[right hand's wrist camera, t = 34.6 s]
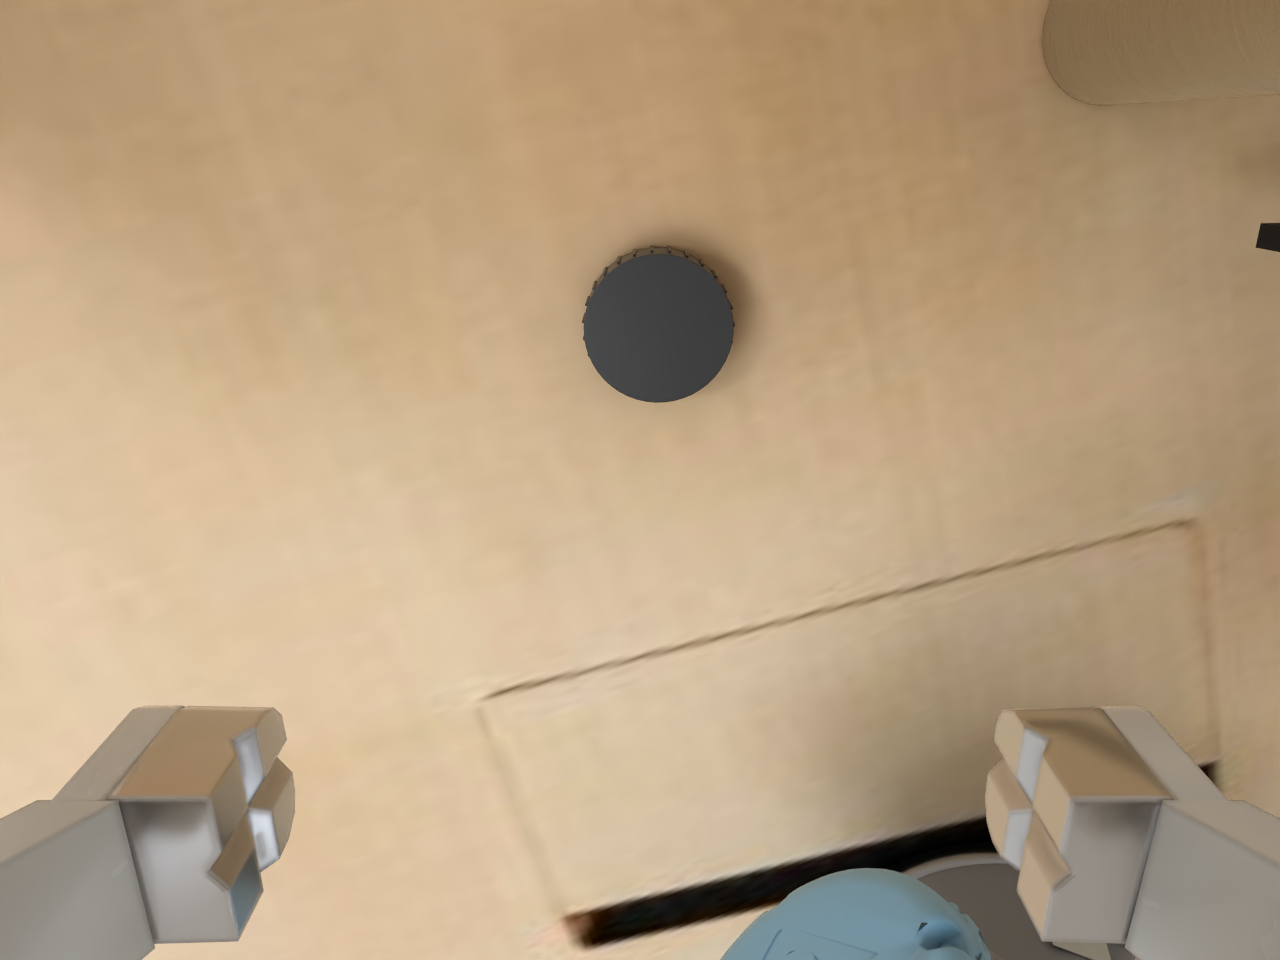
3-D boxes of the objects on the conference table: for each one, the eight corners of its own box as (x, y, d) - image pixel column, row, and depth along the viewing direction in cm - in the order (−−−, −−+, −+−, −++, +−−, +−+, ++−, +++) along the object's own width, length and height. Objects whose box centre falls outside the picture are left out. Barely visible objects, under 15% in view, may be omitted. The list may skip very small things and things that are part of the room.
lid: (577, 251, 34) (572, 259, 32) (726, 238, 34) (731, 244, 32) (593, 395, 36) (590, 410, 34) (734, 383, 36) (739, 397, 34)
